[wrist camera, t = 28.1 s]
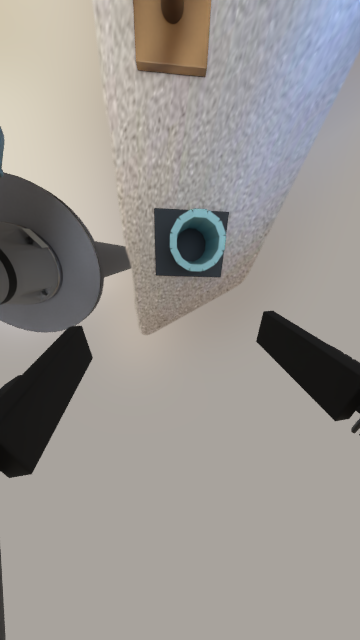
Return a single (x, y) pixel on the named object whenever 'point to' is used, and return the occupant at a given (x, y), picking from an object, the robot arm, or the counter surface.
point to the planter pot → (212, 236)
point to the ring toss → (172, 35)
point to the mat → (182, 245)
